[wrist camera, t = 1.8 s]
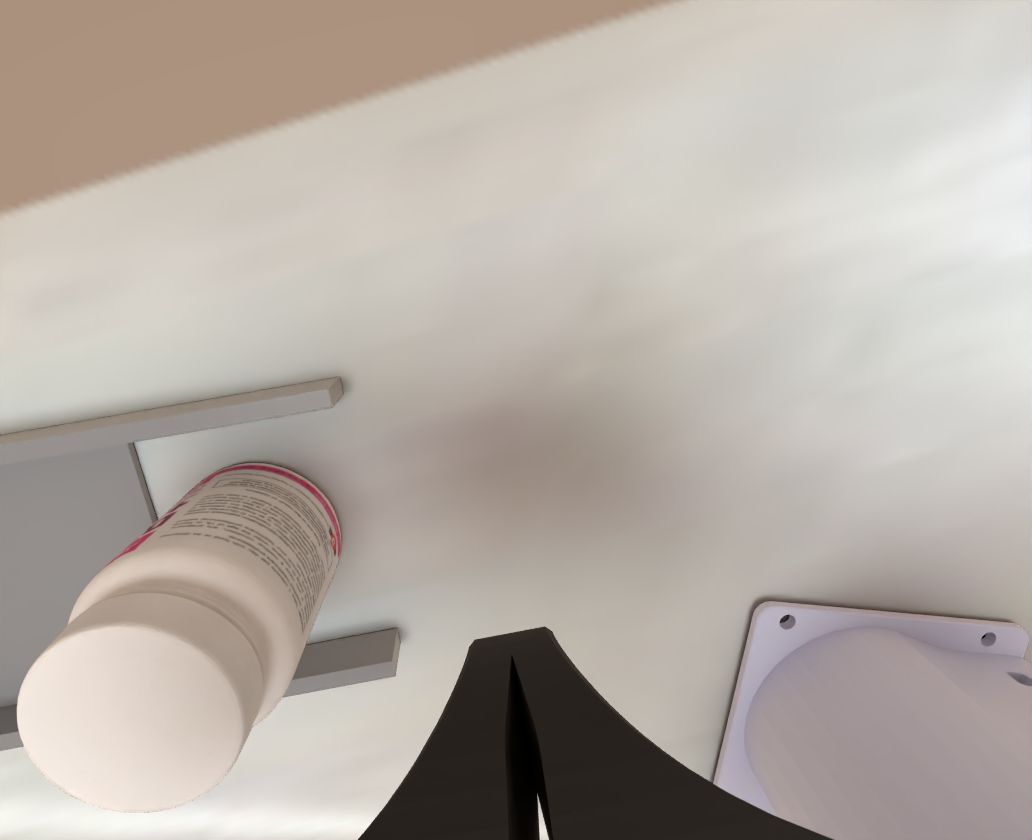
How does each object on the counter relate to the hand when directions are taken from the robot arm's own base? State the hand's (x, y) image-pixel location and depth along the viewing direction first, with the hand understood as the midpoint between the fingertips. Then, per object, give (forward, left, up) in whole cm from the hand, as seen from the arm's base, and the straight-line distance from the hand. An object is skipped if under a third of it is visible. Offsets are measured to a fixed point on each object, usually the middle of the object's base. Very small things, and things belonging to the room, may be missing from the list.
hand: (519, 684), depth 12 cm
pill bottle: (+7, +2, -10) cm, 12 cm away
